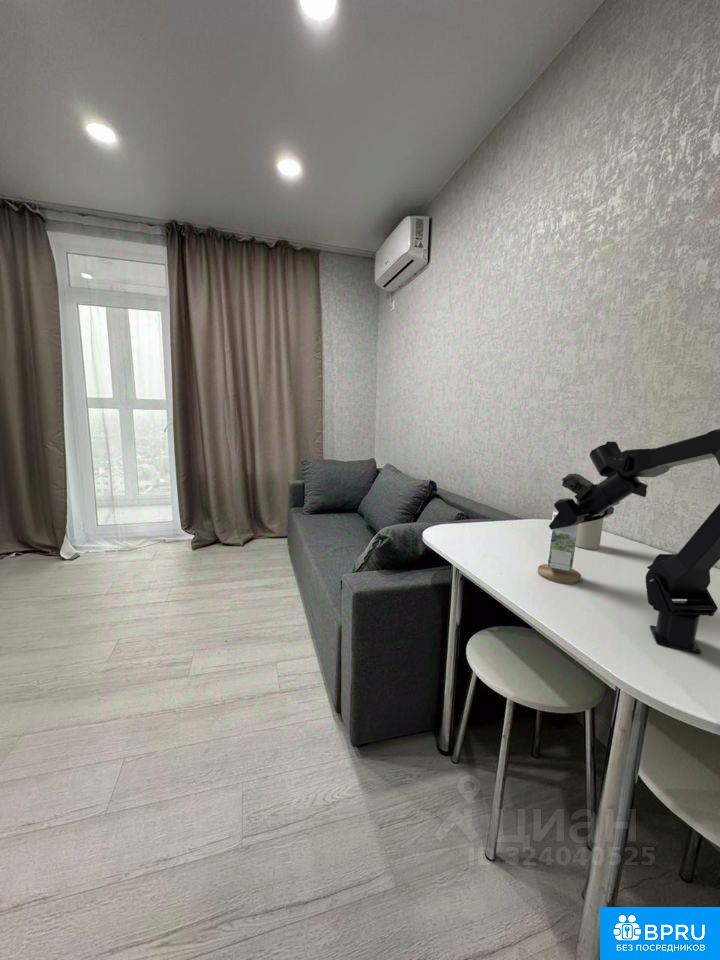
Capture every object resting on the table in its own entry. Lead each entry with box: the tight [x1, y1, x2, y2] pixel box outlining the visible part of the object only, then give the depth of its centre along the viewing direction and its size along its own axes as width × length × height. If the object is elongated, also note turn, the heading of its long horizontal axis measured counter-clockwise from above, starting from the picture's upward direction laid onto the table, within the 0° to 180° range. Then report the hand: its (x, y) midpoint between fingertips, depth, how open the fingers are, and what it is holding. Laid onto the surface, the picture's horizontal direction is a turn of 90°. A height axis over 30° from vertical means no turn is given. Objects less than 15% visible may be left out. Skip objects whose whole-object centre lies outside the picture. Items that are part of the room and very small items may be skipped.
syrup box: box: [546, 510, 579, 572], centre depth 98 cm, size 6×6×14 cm
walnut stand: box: [537, 563, 582, 585], centre depth 100 cm, size 10×10×1 cm
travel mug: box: [575, 499, 605, 550], centre depth 124 cm, size 8×8×18 cm
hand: (558, 525), depth 99 cm, fingers closed on syrup box, 7 cm apart
